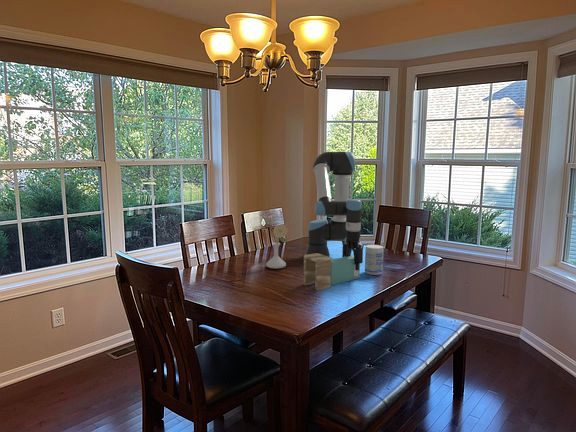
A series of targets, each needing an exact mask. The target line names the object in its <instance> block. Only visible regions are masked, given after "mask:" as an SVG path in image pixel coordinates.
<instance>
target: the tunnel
mask: <svg viewBox="0 0 576 432" xmlns="http://www.w3.org/2000/svg"><path fill="white" fill-rule="evenodd" d="M331 259H332V257H331V256H330V257H328V256H325V255H322V254H319V253H314V254H308V255H305V254H304V255H303V285H304V286H310V285H313V284H314V286H315V288H314V289H315V290H316V291H322V290H325V289H329V288H331Z"/></svg>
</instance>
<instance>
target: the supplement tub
mask: <svg viewBox="0 0 576 432" xmlns="http://www.w3.org/2000/svg"><path fill="white" fill-rule="evenodd" d="M364 253H365V254H364V255H365V256H364V273H365V274H367V275H370V276H381V275H382V274H383V271H384V267H383V266H384V246H382V245H379V244H367V245H366V246H365V250H364Z"/></svg>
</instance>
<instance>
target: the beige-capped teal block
mask: <svg viewBox="0 0 576 432" xmlns="http://www.w3.org/2000/svg"><path fill="white" fill-rule="evenodd" d="M354 263H355V260H354V254H353V255H352V254H351V256H347V257H342V256H341V257H337V258H331V285H336V284H340V283H344V282H348V281H349V282H350V281H354V280H357V279H360V273H361V272H360V267H361V263H360V264H359V270H358V276H355V277H354V276H353V270H354Z"/></svg>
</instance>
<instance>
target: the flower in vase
mask: <svg viewBox="0 0 576 432" xmlns="http://www.w3.org/2000/svg"><path fill="white" fill-rule="evenodd" d="M288 232H289V229H288V228H287V226H286V225H284V224H282V223H281V224H277V225H275V226H274V228H273V230H272V233H273V236H274V237H276V238H278V239H279V240H277V239H275V238H273V240H274V241H276V242H272V243H271V245H272V246H273V257H272V258H270V259H269V260H268V261H267V262H266V264H265V266H266V267H267V268H270V269H284V268H285V267H286V266H287V263H286V262H285V260H283V259H282V258H281V257H280V256H279V249H280V248H279V247H280V246H281V243H280V242H282V243H286V242H288V240H287V239H286V238H285V237H286V236H287V234H288Z"/></svg>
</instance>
